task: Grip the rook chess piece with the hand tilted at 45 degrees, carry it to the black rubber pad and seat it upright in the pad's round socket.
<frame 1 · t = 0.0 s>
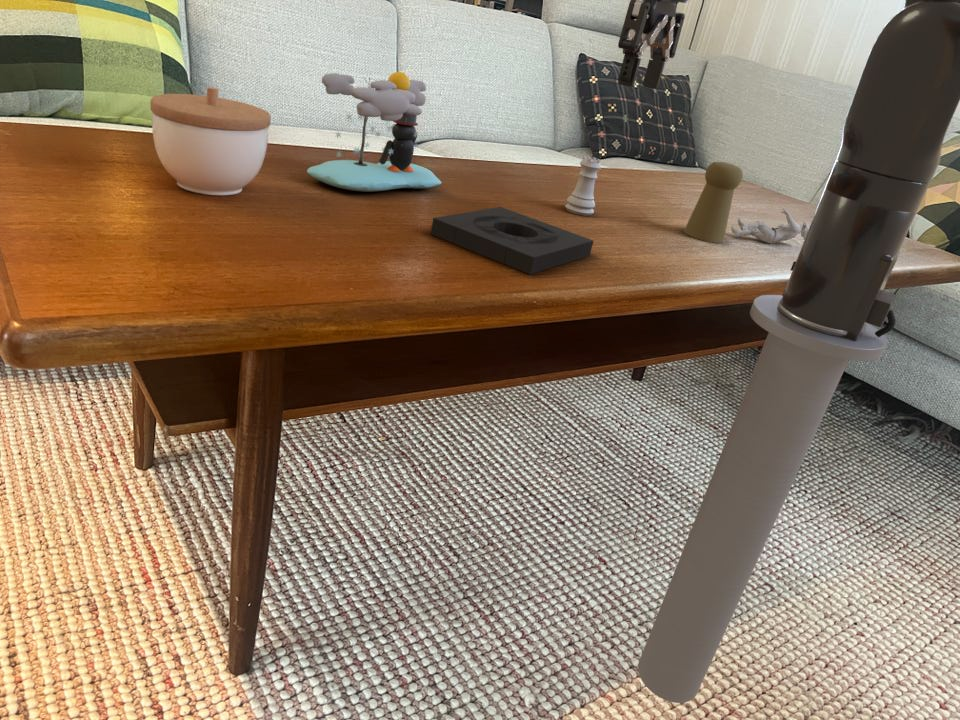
hand: (638, 86, 103), 19 cm above the table, tool pointing down, fingers open, 8 cm apart
soldier figure: (766, 243, 115), on the table
rook chess piece: (578, 213, 109), on the table
brown game pawn: (703, 237, 110), on the table
lidded bowl: (210, 188, 85), on the table
pad: (512, 245, 87), on the table
penguin figurine: (376, 186, 101), on the table
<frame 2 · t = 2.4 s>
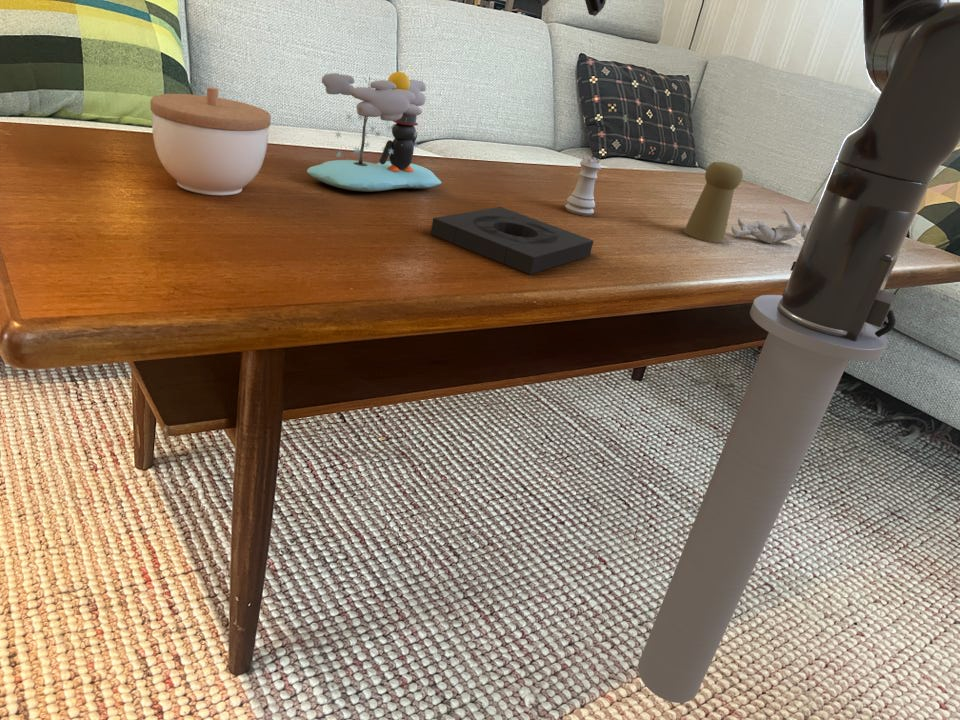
hand: (570, 6, 89), 27 cm above the table, tool tilted 45°, fingers open, 8 cm apart
nothing on the table moved.
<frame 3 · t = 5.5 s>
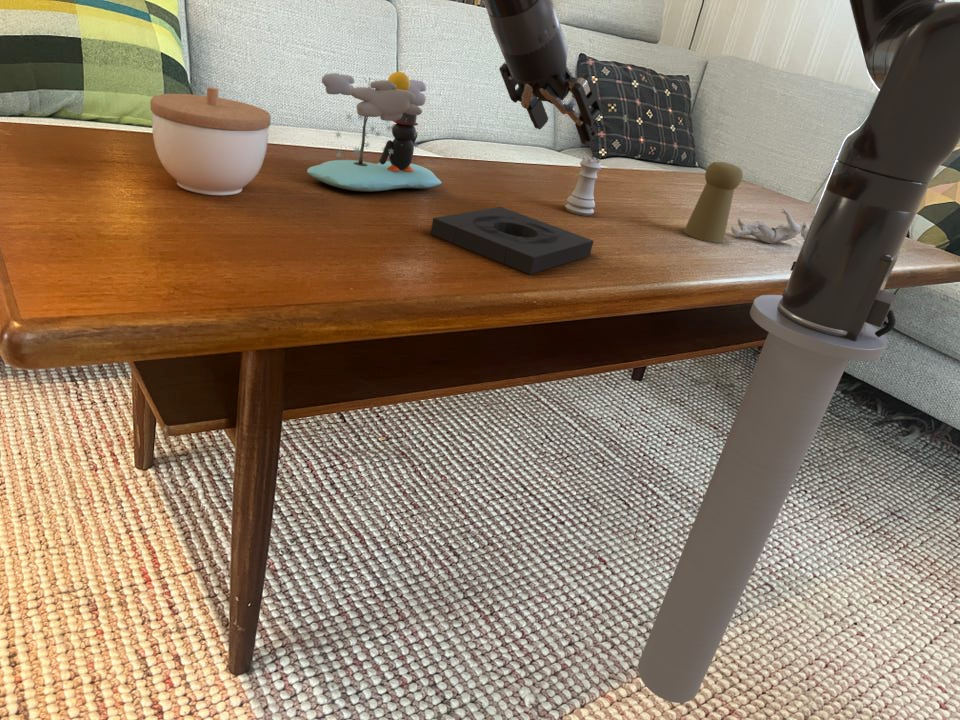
hand: (565, 132, 99), 12 cm above the table, tool tilted 45°, fingers open, 8 cm apart
nothing on the table moved.
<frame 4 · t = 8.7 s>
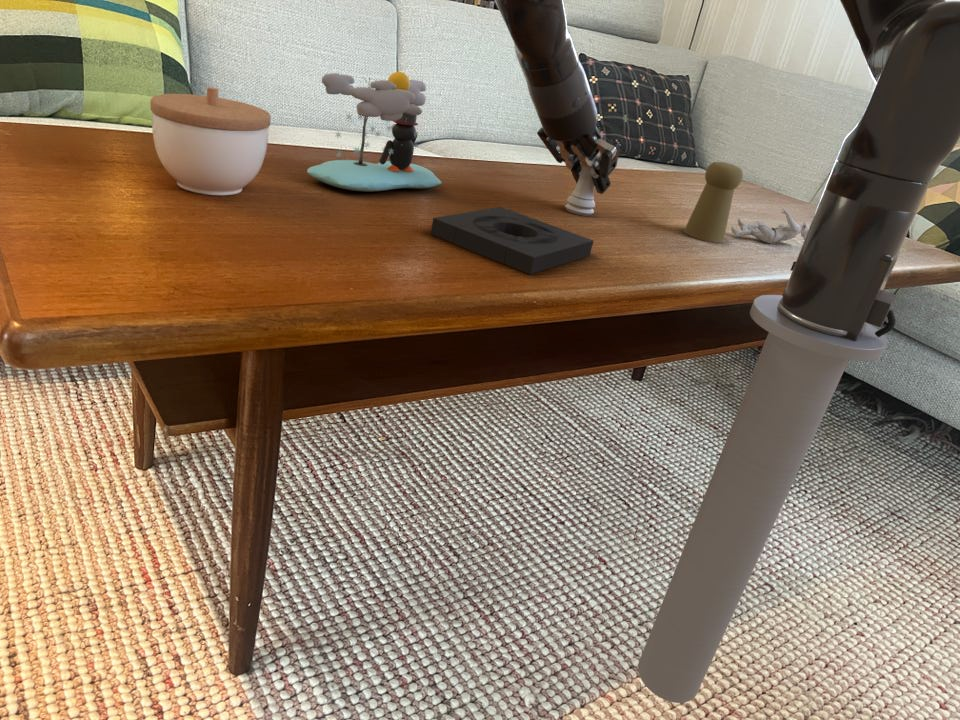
hand: (593, 185, 109), 4 cm above the table, tool tilted 45°, fingers closed on rook chess piece, 3 cm apart
rook chess piece: (578, 213, 109), on the table, touching gripper
everything else where it was.
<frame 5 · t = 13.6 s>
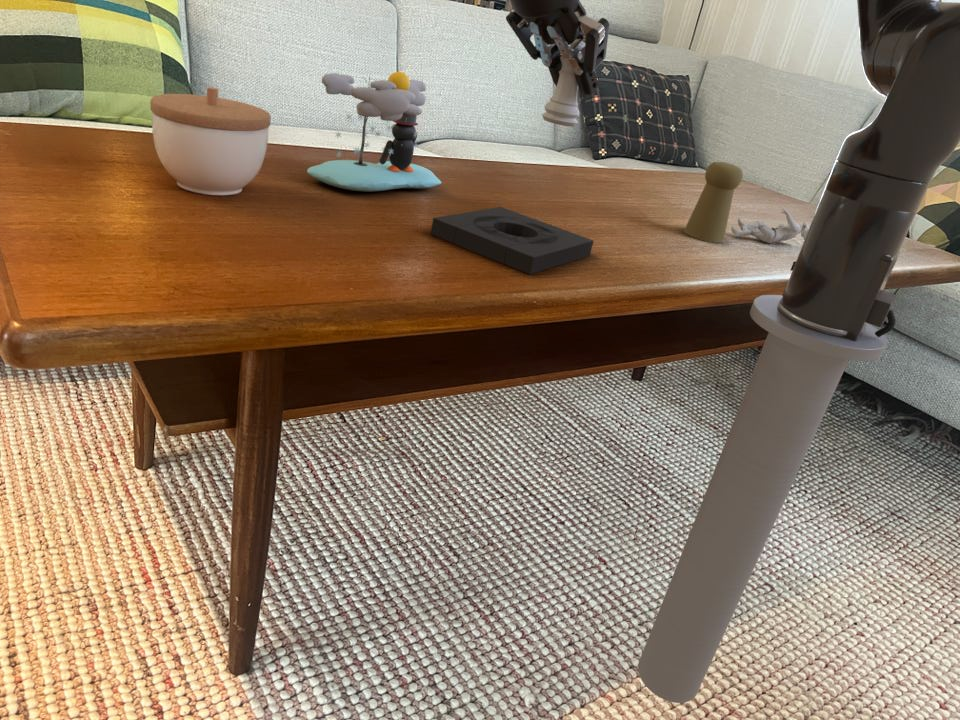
hand: (577, 89, 87), 18 cm above the table, tool tilted 45°, fingers closed on rook chess piece, 3 cm apart
rook chess piece: (558, 124, 87), point 14 cm above the table, touching gripper
everything else where it was.
when the fingers open (4 cm above the table, at t = 18.8 s): rook chess piece stays where it is, resting in pad.
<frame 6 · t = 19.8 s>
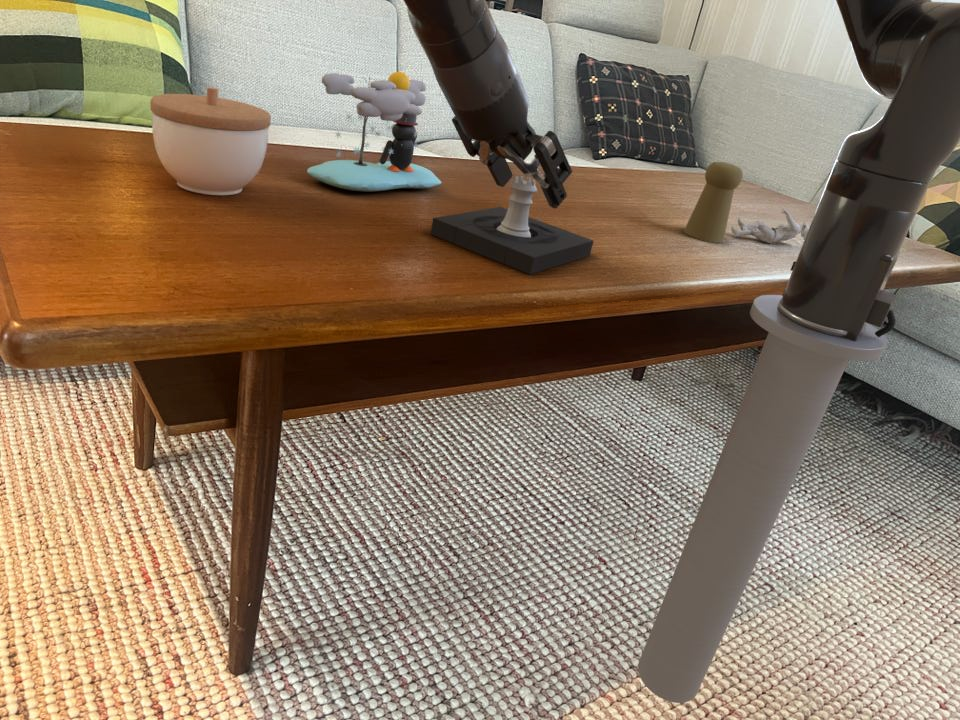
hand: (531, 191, 85), 7 cm above the table, tool tilted 45°, fingers open, 8 cm apart
rook chess piece: (510, 247, 87), resting in pad
everything else where it was.
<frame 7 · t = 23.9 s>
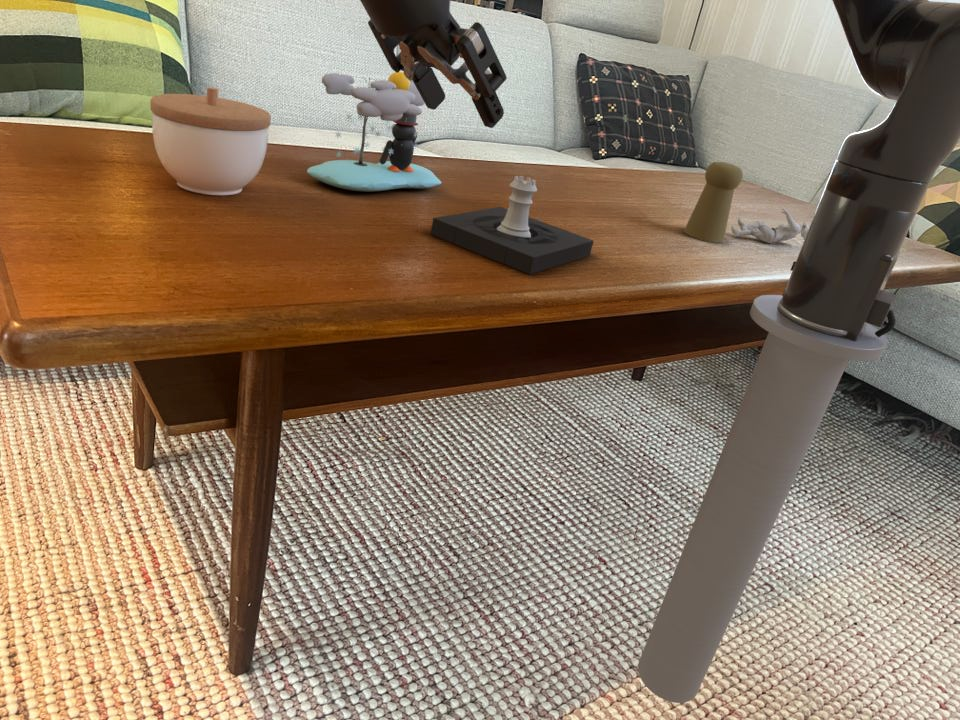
hand: (465, 112, 73), 15 cm above the table, tool tilted 45°, fingers open, 8 cm apart
nothing on the table moved.
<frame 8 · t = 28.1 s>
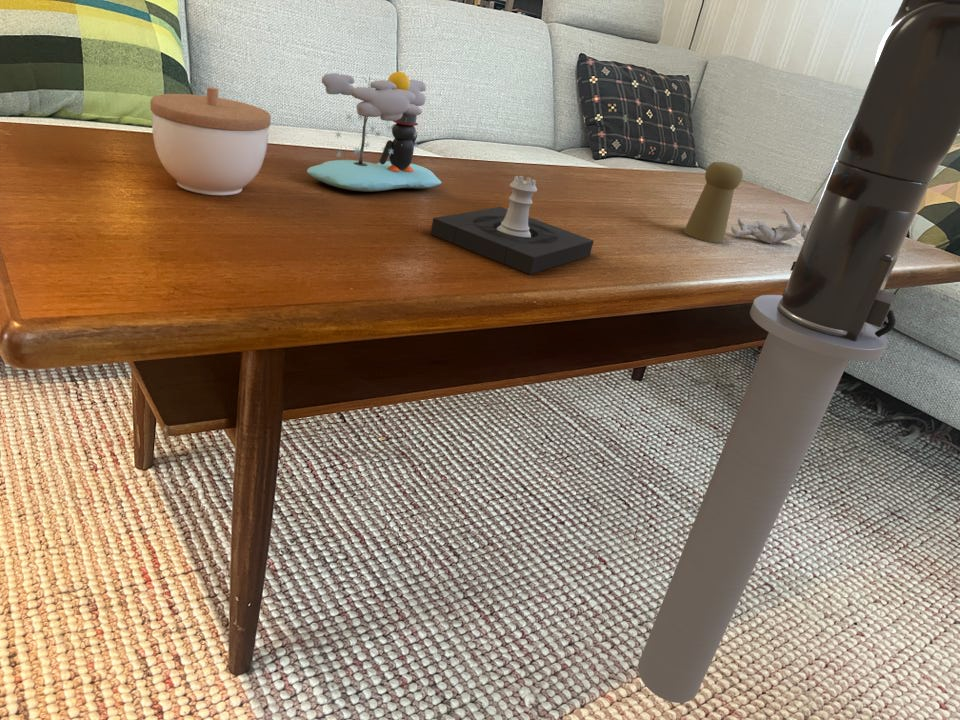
nothing on the table moved.
at the end: rook chess piece 0.2 cm off-centre in the pad, point 0.0 cm above the pad's base; rook chess piece tilted 0°; the gripper is holding nothing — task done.
